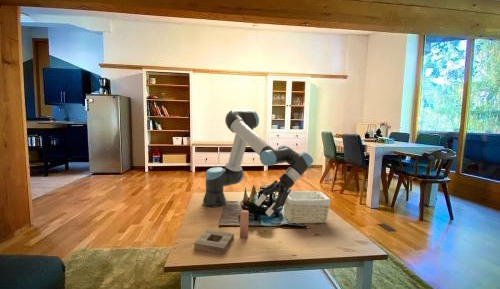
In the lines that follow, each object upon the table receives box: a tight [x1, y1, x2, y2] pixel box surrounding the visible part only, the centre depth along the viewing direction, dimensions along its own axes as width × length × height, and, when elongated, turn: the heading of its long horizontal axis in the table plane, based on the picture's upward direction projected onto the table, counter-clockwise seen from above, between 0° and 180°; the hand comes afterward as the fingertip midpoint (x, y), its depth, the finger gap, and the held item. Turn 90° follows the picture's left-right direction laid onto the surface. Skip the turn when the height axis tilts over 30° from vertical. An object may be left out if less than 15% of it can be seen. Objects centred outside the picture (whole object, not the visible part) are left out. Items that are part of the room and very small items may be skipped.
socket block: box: [193, 229, 235, 255], centre depth 122 cm, size 14×14×3 cm
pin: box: [239, 209, 250, 240], centre depth 129 cm, size 4×4×13 cm
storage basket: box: [283, 190, 332, 224], centre depth 152 cm, size 24×16×15 cm
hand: (261, 209), depth 131 cm, fingers open, 13 cm apart
